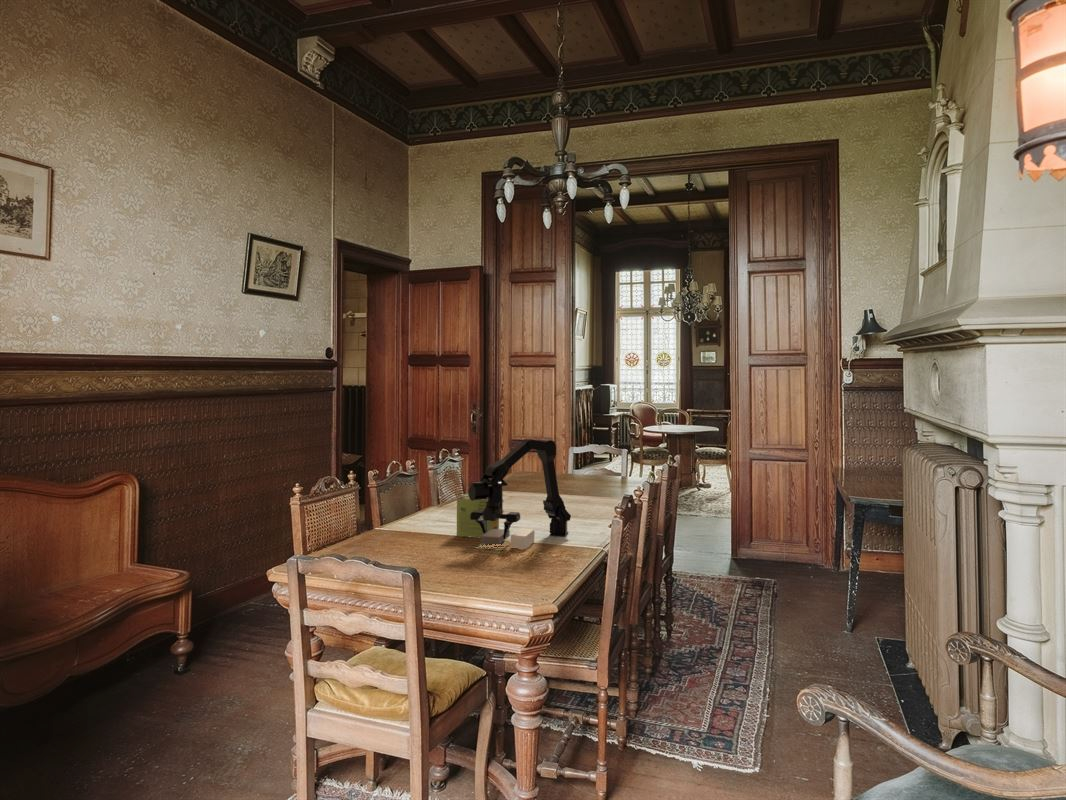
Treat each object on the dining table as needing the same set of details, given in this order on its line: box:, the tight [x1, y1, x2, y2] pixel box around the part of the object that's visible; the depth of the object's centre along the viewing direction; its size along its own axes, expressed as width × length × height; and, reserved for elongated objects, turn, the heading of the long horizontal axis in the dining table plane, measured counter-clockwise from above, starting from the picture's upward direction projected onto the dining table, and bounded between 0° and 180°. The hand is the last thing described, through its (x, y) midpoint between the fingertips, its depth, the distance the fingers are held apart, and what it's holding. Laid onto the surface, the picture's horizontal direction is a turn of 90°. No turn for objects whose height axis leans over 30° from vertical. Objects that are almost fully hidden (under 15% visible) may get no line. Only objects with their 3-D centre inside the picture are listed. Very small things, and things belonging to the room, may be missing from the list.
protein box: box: [456, 494, 500, 538], centre depth 274 cm, size 10×15×16 cm
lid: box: [479, 528, 511, 544], centre depth 257 cm, size 7×13×2 cm, turn 165°
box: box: [510, 527, 535, 550], centre depth 256 cm, size 6×12×5 cm, turn 165°
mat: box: [474, 538, 511, 551], centre depth 257 cm, size 11×16×1 cm
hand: (495, 538), depth 257 cm, fingers closed on lid, 7 cm apart
